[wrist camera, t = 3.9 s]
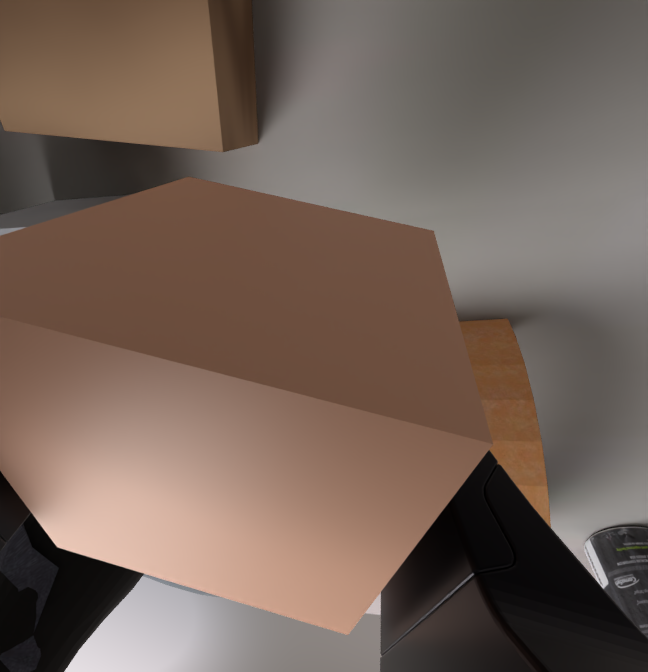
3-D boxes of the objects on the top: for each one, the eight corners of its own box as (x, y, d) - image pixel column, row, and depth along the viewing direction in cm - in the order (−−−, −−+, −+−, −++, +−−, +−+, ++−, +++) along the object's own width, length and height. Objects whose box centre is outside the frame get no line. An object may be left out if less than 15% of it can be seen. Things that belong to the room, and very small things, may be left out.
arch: (410, 513, 29) (414, 667, 21) (398, 322, 19) (396, 484, 11) (481, 520, 28) (514, 688, 20) (511, 316, 17) (610, 499, 9)
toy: (107, 403, 28) (-290, 801, 12) (216, 462, 30) (3, 872, 14) (88, 456, 34) (-193, 769, 18) (181, 503, 36) (3, 823, 20)
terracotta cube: (370, 405, 11) (347, 635, 6) (202, 362, 11) (57, 546, 7) (433, 230, 8) (493, 444, 3) (188, 176, 8) (-142, 280, 3)
